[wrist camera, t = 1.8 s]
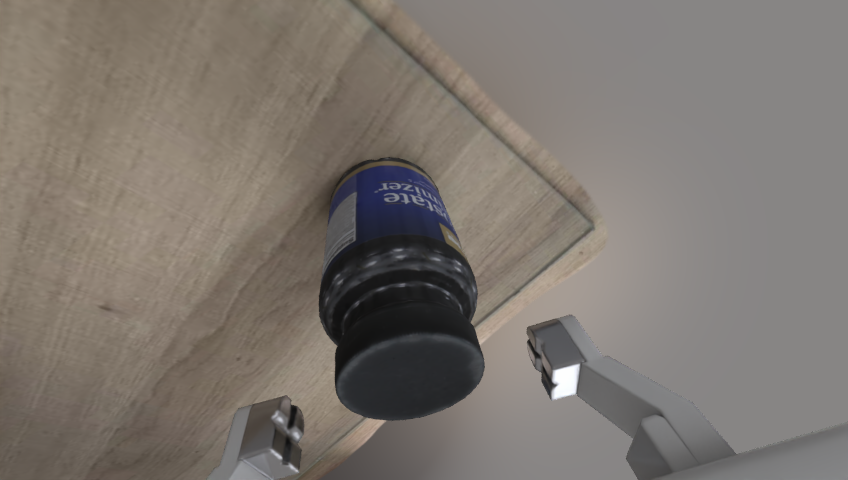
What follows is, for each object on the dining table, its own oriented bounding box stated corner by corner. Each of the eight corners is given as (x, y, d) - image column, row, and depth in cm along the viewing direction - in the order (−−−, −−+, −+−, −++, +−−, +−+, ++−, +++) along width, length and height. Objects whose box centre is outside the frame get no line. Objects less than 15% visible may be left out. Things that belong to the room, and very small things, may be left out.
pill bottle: (458, 185, 19) (548, 347, 10) (403, 260, 22) (438, 440, 13) (361, 131, 16) (372, 289, 8) (311, 224, 19) (276, 422, 10)
